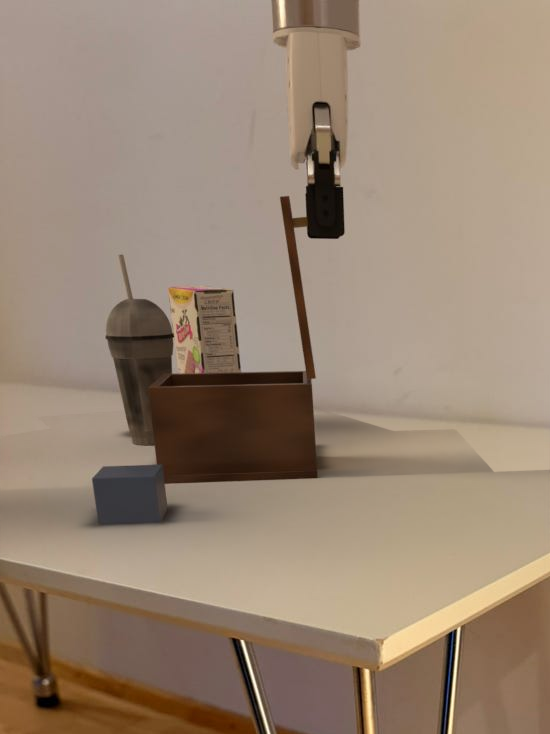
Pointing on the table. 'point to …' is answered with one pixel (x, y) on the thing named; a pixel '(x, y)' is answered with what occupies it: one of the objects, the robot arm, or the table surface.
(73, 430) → the table surface
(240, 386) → the chest
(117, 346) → the beverage cup
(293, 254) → the lid
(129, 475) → the block
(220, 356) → the candy bar box
